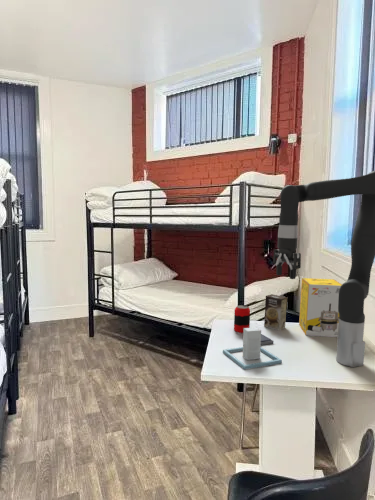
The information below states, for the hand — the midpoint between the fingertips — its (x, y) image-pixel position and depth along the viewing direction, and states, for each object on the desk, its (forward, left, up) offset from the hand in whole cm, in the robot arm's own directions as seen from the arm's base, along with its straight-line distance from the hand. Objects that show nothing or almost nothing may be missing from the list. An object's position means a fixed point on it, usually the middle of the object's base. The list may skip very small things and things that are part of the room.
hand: (285, 276), depth 146 cm
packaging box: (+20, -38, -33) cm, 54 cm away
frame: (+3, +12, -33) cm, 36 cm away
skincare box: (+3, +13, -33) cm, 36 cm away
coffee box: (+32, -20, -33) cm, 50 cm away
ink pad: (+17, -1, -33) cm, 37 cm away
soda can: (+33, -1, -33) cm, 47 cm away
